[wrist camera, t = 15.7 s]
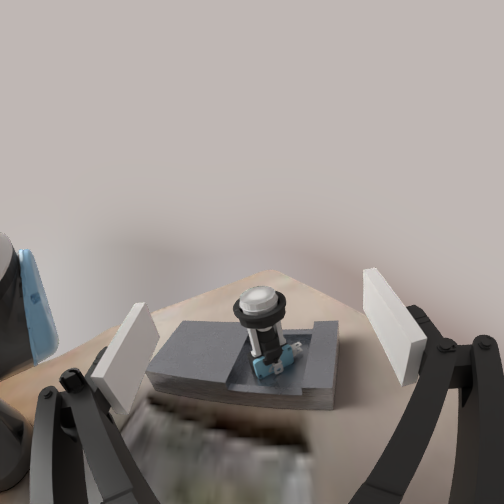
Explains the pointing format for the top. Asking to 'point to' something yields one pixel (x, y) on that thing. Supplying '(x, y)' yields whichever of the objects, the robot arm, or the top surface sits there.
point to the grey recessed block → (247, 366)
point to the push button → (265, 330)
